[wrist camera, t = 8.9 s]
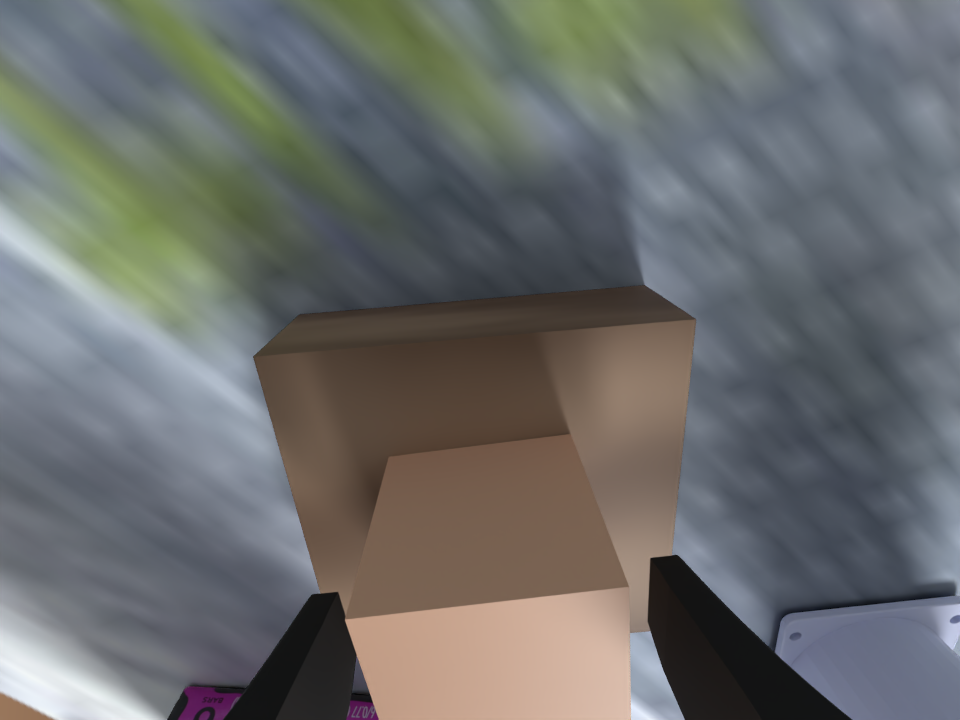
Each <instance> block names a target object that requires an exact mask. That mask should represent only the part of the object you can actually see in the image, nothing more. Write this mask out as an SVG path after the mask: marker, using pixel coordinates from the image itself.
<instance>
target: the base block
mask: <svg viewBox="0 0 960 720" xmlns="http://www.w3.org/2000/svg"><path fill="white" fill-rule="evenodd" d="M695 326H696V319H695V318H693V317H692V316H690V315H689V314H687V313H686V312H684V311H683V310H681V309H680V308H678V307H677V306H675V305H674V304H672V303H671V302H669V301H668V300H666V299H665V298H663V297H662V296H660V295H659V294H657V293H656V292H654V291H653V290H651V289H650V288H648V287H647V286H645V285H641V286H630V287H618V288H606V289H594V290H583V291H571V292H559V293H547V294H535V295H524V296H512V297H500V298H488V299H477V300H465V301H453V302H441V303H429V304H418V305H406V306H394V307H382V308H371V309H359V310H347V311H335V312H323V313H312V314H300V315H298V316H297V317H296V318H295V319H294V320H293V321H292V322H291V323H289V324H288V325H287V326H286V327H285V328H284V329H283V330H282V331H281V332H280V333H279V334H277V335H276V336H275V337H274V338H273V339H272V340H271V341H270V342H269V343H268V344H267V345H265V346H264V347H263V348H262V349H261V350H260V351H259V352H258V353H257V354H256V355H254V356H253V358H254V361H255V365H256V368H257V372H258V375H259V379H260V382H261V386H262V389H263V393H264V397H265V400H266V404H267V407H268V411H269V414H270V418H271V421H272V425H273V428H274V432H275V435H276V439H277V442H278V446H279V449H280V453H281V456H282V460H283V463H284V467H285V470H286V474H287V477H288V481H289V484H290V488H291V491H292V495H293V498H294V502H295V505H296V509H297V512H298V516H299V519H300V523H301V526H302V530H303V533H304V537H305V540H306V544H307V548H308V551H309V555H310V558H311V562H312V565H313V569H314V572H315V576H316V579H317V583H318V586H319V590H320V593H331V592H338V593H339V596H340V599H341V602H342V606H343V609H344V612H345V616H346V613H347V609H348V606H349V602H350V598H351V595H352V591H353V587H354V584H355V580H356V576H357V572H358V569H359V565H360V561H361V558H362V554H363V550H364V547H365V543H366V539H367V536H368V532H369V528H370V524H371V521H372V517H373V513H374V510H375V506H376V502H377V499H378V495H379V491H380V487H381V484H382V480H383V476H384V473H385V469H386V465H387V462H388V458H389V457H391V456H399V455H406V454H414V453H422V452H430V451H438V450H446V449H454V448H462V447H470V446H478V445H486V444H494V443H502V442H510V441H518V440H526V439H534V438H542V437H550V436H558V435H566V434H571V436H572V438H573V441H574V444H575V446H576V449H577V452H578V454H579V457H580V459H581V462H582V465H583V467H584V470H585V472H586V475H587V478H588V480H589V483H590V486H591V488H592V491H593V493H594V496H595V499H596V501H597V504H598V506H599V509H600V512H601V514H602V517H603V519H604V522H605V525H606V527H607V530H608V533H609V535H610V538H611V540H612V543H613V546H614V548H615V551H616V553H617V556H618V559H619V561H620V564H621V567H622V569H623V572H624V574H625V577H626V580H627V582H628V585H629V610H630V633H635V632H646V631H650V628H649V624H648V621H647V620H648V597H649V574H650V558H653V557H662V556H672V547H673V537H674V527H675V518H676V508H677V499H678V489H679V479H680V470H681V460H682V450H683V441H684V431H685V422H686V412H687V402H688V393H689V383H690V374H691V364H692V354H693V345H694V335H695ZM356 656H357V654H356Z"/></svg>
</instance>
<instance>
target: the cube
mask: <svg viewBox="0 0 960 720" xmlns="http://www.w3.org/2000/svg"><path fill="white" fill-rule="evenodd" d="M345 622H346V625H347V628H348V631H349V634H350V637H351V639H352V642H353V645H354V648H355V651H356V654H357V657H358V660H359V663H360V666H361V669H362V672H363V675H364V677H365V680H366V683H367V686H368V689H369V692H370V695H371V698H372V701H373V704H374V707H375V710H376V713H377V716H378V718H379V720H631V695H630V610H629V585H628V582H627V580H626V577H625V574H624V572H623V569H622V567H621V564H620V561H619V559H618V556H617V553H616V551H615V548H614V546H613V543H612V540H611V538H610V535H609V533H608V530H607V527H606V525H605V522H604V519H603V517H602V514H601V512H600V509H599V506H598V504H597V501H596V499H595V496H594V493H593V491H592V488H591V486H590V483H589V480H588V478H587V475H586V472H585V470H584V467H583V465H582V462H581V459H580V457H579V454H578V452H577V449H576V446H575V444H574V441H573V438H572V436H571V434H566V435H558V436H550V437H542V438H534V439H526V440H518V441H510V442H502V443H494V444H486V445H478V446H470V447H462V448H454V449H446V450H438V451H430V452H422V453H414V454H406V455H399V456H391V457H389V458H388V462H387V465H386V469H385V473H384V476H383V480H382V484H381V487H380V491H379V495H378V499H377V502H376V506H375V510H374V513H373V517H372V521H371V524H370V528H369V532H368V536H367V539H366V543H365V547H364V550H363V554H362V558H361V561H360V565H359V569H358V572H357V576H356V580H355V584H354V587H353V591H352V595H351V598H350V602H349V606H348V609H347V613H346V617H345Z"/></svg>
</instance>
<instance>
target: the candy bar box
mask: <svg viewBox="0 0 960 720" xmlns="http://www.w3.org/2000/svg"><path fill="white" fill-rule="evenodd" d="M245 690H246V689H232V688H213V687H195V686H189V687H186V688H185V689H184V691H183V692H182V694H181V696H180V698H179V700H178V701H177V703H176V704H175V706H174V708H173V710H172V712H171V714H170V716H169V717H168V719H167V720H223V719H224V717H225V716H226V715H227V714H228V712H229V711H230V710H231V708H232V707H233V706H234V704H235V703H236V702H237V700H238V699H239V698H240V696H241V695H242V694H243V692H244V691H245ZM346 720H379V718H378V716H377V713H376V710H375V707H374V704H373V701H372V698H371V696H368V695H351V700H350V706H349V710H348V715H347V719H346Z"/></svg>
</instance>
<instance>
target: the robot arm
mask: <svg viewBox="0 0 960 720" xmlns="http://www.w3.org/2000/svg"><path fill="white" fill-rule="evenodd" d="M345 617H346V616H345V612H344V609H343V606H342V602H341V599H340V596H339V593H338V592H331V593H321V594H312V595H311V596H310V598H309V599H308V600H307V602H306V603H305V605H304V606H303V607H302V609H301V610H300V612H299V613H298V615H297V616H296V618H295V619H294V621H293V622H292V624H291V625H290V627H289V628H288V630H287V631H286V633H285V634H284V636H283V637H282V639H281V640H280V642H279V643H278V644H277V646H276V647H275V649H274V650H273V652H272V653H271V655H270V656H269V658H268V659H267V660H266V662H265V663H264V665H263V666H262V667H261V669H260V670H259V671H258V673H257V674H256V676H255V677H254V678H253V680H252V681H251V683H250V684H249V685H248V687H247V688H246V690H245V691H244V692H243V694H242V695H241V696H240V698H239V699H238V700H237V702H236V703H235V704H234V706H233V707H232V708H231V710H230V711H229V712H228V714H227V715H226V716H225V717H224V719H223V720H346V719H347V715H348V710H349V706H350V700H351V693H352V686H353V679H354V671H355V662H356V651H355V648H354V645H353V642H352V639H351V637H350V634H349V631H348V628H347V625H346V622H345ZM647 621H648V624H649V628H650V631H651V634H652V637H653V640H654V643H655V646H656V649H657V652H658V655H659V658H660V661H661V664H662V667H663V670H664V673H665V675H666V677H667V679H668V682H669V684H670V686H671V689H672V691H673V693H674V696H675V698H676V700H677V702H678V705H679V707H680V709H681V712H682V714H683V716H684V718H685V720H960V657H959V656H958V655H957V654H956V653H955V652H954V651H953V650H954V647H955V645H956V642H957V640H958V637H959V635H960V596H947V597H938V598H929V599H919V600H910V601H901V602H891V603H882V604H873V605H863V606H854V607H845V608H835V609H826V610H817V611H807V612H798V613H791V614H788V615H786V616H785V617H784V618H783V619H782V621H781V624H780V629H779V634H778V639H777V644H776V649H775V652H774V651H772V650H771V649H770V648H769V647H768V646H767V645H766V644H765V643H764V642H763V641H762V640H761V639H760V638H759V637H758V636H757V635H756V634H755V633H754V632H753V631H751V630H750V629H749V628H748V627H747V626H746V625H745V624H744V623H743V622H742V621H741V620H740V619H739V618H738V617H737V616H736V615H735V614H734V613H733V612H732V611H731V610H730V609H729V608H728V607H727V606H726V605H725V604H724V603H723V602H722V601H721V600H720V599H719V598H718V597H717V596H716V595H715V594H714V593H713V592H712V591H711V590H710V588H709V587H708V586H707V585H706V584H705V583H704V582H703V581H702V580H701V579H700V578H699V577H698V576H697V575H696V574H695V573H694V572H693V571H692V569H691V568H690V567H689V566H688V565H687V564H686V563H685V562H684V561H683V560H682V559H681V558H680V557H679V556H678V555H672V556H662V557H653V558H650V574H649V597H648V620H647Z"/></svg>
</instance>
